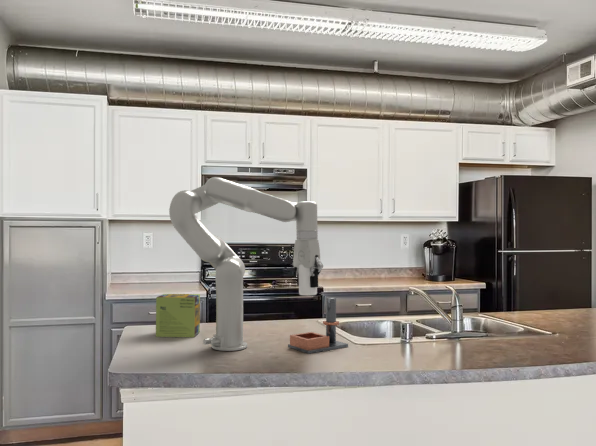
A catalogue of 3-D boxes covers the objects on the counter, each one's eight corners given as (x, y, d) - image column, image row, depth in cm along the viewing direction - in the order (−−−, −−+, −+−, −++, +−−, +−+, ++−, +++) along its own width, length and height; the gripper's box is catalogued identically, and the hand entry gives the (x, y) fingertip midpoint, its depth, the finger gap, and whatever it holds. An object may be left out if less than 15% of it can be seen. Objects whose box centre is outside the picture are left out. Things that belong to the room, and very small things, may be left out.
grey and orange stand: (309, 353, 188) (309, 303, 188) (288, 347, 197) (288, 299, 197) (348, 346, 199) (348, 299, 199) (326, 340, 208) (326, 295, 208)
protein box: (195, 337, 213) (195, 297, 213) (155, 337, 213) (155, 296, 213) (200, 332, 223) (200, 293, 223) (162, 331, 223) (162, 293, 223)
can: (317, 293, 200) (316, 260, 200) (316, 295, 193) (316, 261, 193) (299, 293, 200) (299, 260, 200) (298, 296, 194) (297, 261, 194)
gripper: (283, 235, 201) (284, 285, 201) (315, 236, 188) (315, 289, 188) (299, 235, 206) (300, 283, 206) (331, 236, 192) (332, 287, 193)
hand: (307, 285), depth 197 cm, fingers closed on can, 6 cm apart
